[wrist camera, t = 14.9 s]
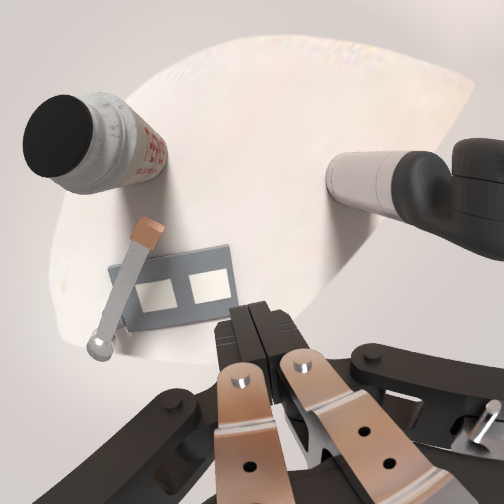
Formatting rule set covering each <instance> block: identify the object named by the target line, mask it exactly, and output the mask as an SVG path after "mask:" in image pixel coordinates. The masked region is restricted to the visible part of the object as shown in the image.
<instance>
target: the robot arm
mask: <svg viewBox="0 0 504 504" xmlns="http://www.w3.org/2000/svg"><path fill="white" fill-rule="evenodd" d="M452 175H453V176H452ZM452 175H451V173H450V171H449V168H448V167H447V165H446V163H445V162H444V161H443V160H442V159H441V158H440V157H439V156H438V155H436V154H434V153H432V152H427V151H376V152H351V153H343V154H340V155H338V156H336V157H335V158H334V159H333V160H332V161H331V163H330V164H329V166H328V169H327V173H326V183H327V188H328V190H329V193H330V194H331V196H332V197H333V198H334V199H335V200H336V201H338V202H339V203H341V204H344V205H347V206H351V207H354V208H358V209H361V210H365V211H368V212H371V213H375V214H378V215H381V216H385V217H388V218H391V219H395V220H398V221H401V222H404V223H407V224H410V225H413V226H415V227H417V228H419V229H421V230H424V231H427V232H429V233H432V234H435V235H437V236H439V237H442V238H444V239H446V240H448V241H450V242H452V243H454V244H456V245H458V246H460V247H462V248H464V249H467V250H469V251H471V252H473V253H476V254H478V255H481V256H483V257H486V258H489V259H492V260H497V261H504V141H502V140H496V139H488V138H471V139H464V140H461V141H459V142H458V143H456V144H455V146H454V148H453V154H452ZM247 307H248V308H247ZM229 312H230V318H231V320H227V321H222V322H218V324H217V326H216V328H215V329H214V333H215V341H216V348H217V355H218V362H219V369H220V373H219V375H218V378H217V382H216V383H215V384H214V385H213V386H212V387H210V388H209V389H207V390H205V391H203V392H201V393H198V394H196V395H193V393H191V392H190V391H188V390H185V389H179V388H178V389H177V388H176V389H169V390H166V391H164V392H162V393H160V394H159V395H157V396H156V397H155V398H154V399H153V400H152V401H151V402H150V403H149V404H148V405H147V406H146V407H144V408H143V409H142V410H141V411H140V412H139V413H138V414H137V415H136V416H135V417H134V418H132V419H131V420H130V421H129V422H128V423H127V424H126V425H125V426H124V427H123V428H122V429H120V430H119V431H118V432H117V433H116V434H115V435H114V436H112V437H111V438H110V439H109V440H108V441H107V442H106V443H105V444H103V445H102V446H101V447H100V448H99V449H98V450H97V451H95V452H94V453H93V454H92V455H91V456H90V457H88V458H87V459H86V460H85V461H84V462H83V463H81V464H80V465H79V466H78V467H77V468H75V469H74V470H73V471H72V472H71V473H69V474H68V475H67V476H66V477H65V478H64V479H62V480H61V481H60V482H59V483H57V484H56V485H55V486H54V487H52V488H51V489H50V490H49V491H47V492H46V493H45V494H44V495H42V496H41V497H40V498H38V499H37V500H36V501H35V502H33V503H32V504H178V503H179V502H180V501H181V500H182V499H183V498H184V496H185V495H186V494H187V493H188V492H189V490H190V489H191V488H192V487H193V486H194V485H195V483H196V482H197V481H198V480H199V478H200V477H201V476H202V475H203V474H204V472H205V471H206V470H207V469H208V467H209V466H210V465H211V463H212V462H213V461H214V460H215V475H216V494H215V495H214V496H212V497H210V498H209V499H207V500H206V501H205V502H203V503H202V504H504V369H501V368H496V367H488V366H483V365H477V364H471V363H465V362H460V361H454V360H450V359H444V358H439V357H434V356H429V355H425V354H420V353H416V352H411V351H407V350H402V349H398V348H393V347H390V346H385V345H381V344H376V343H369V344H364V345H361V346H359V347H357V348H356V349H355V350H354V351H353V352H352V354H351V358H348V359H336V360H332V359H325V358H324V356H323V355H322V354H321V353H319V352H318V351H315V350H312V349H310V348H309V346H308V344H307V343H306V341H305V340H304V338H303V336H302V335H301V333H300V332H299V330H298V329H297V327H296V325H295V324H294V323H293V320H292V319H291V317H290V316H289V314H287V313H285V312H284V311H282V310H275V311H270V309H269V307H268V305H267V303H266V302H265V301H261V302H256V303H251V304H247V305H242V306H237V307H232V308H229ZM386 390H390V391H393V392H397V393H401V394H405V395H409V396H413V397H417V398H420V399H421V400H422V401H420V402H415V401H411V400H407V399H403V398H400V397H396V396H392V395H388V394H385V393H386ZM272 399H273V402H274V404H279V403H282V405H283V407H284V411H285V419H286V421H287V424H288V426H289V428H290V429H291V432H292V433H293V435H294V437H295V439H296V441H297V443H298V445H299V447H300V449H301V451H302V453H303V454H304V456H305V459H306V462H307V465H308V469H307V470H296V471H287V468H286V464H285V460H284V456H283V452H282V448H281V443H280V440H279V435H278V431H277V427H276V423H275V420H274V419H273V415H272V410H271V405H273V404H272ZM412 441H414V442H412ZM417 442H418V443H417ZM421 443H422V444H421ZM425 444H427V445H425ZM428 445H431V446H428ZM432 446H436V447H441V448H445V449H451V450H452V451H449V450H444V449H440V448H436V447H432Z"/></svg>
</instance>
